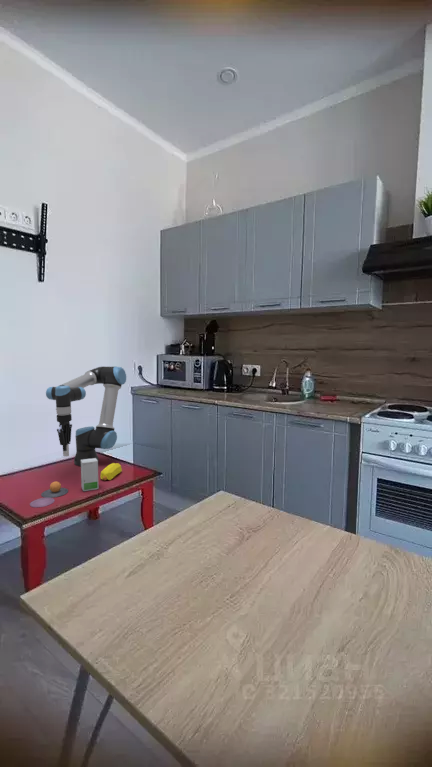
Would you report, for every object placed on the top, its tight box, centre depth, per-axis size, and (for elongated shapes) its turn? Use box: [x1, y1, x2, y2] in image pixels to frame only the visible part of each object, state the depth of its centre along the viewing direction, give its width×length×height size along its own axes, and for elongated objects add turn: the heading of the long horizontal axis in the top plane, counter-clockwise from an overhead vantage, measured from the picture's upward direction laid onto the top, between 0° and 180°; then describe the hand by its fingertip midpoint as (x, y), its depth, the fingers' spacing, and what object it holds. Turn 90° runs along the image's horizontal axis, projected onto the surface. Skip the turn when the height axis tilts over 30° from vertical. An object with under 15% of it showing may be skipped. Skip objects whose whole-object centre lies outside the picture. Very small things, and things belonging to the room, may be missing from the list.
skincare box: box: [80, 458, 99, 492], centre depth 198 cm, size 8×7×16 cm
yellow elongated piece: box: [99, 462, 123, 481], centre depth 217 cm, size 18×7×8 cm
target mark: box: [40, 487, 69, 499], centre depth 193 cm, size 13×13×1 cm
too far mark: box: [29, 497, 55, 508], centre depth 181 cm, size 11×11×1 cm
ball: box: [49, 480, 62, 492], centre depth 194 cm, size 6×6×6 cm
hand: (66, 456), depth 205 cm, fingers closed
